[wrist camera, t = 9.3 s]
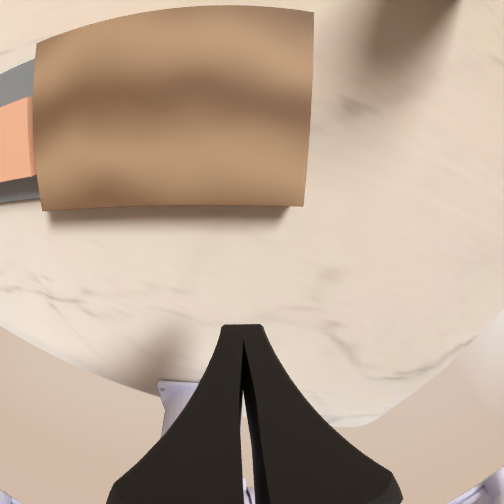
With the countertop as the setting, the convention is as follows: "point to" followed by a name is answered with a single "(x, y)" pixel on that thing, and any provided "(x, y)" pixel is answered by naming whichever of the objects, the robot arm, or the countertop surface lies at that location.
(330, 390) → the countertop surface
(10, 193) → the mat
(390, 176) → the countertop surface
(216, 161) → the board
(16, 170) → the tile
